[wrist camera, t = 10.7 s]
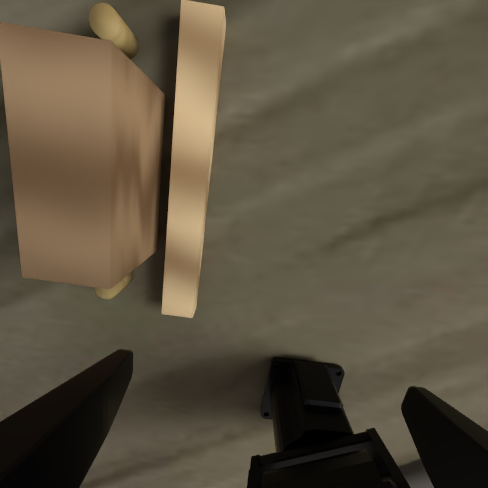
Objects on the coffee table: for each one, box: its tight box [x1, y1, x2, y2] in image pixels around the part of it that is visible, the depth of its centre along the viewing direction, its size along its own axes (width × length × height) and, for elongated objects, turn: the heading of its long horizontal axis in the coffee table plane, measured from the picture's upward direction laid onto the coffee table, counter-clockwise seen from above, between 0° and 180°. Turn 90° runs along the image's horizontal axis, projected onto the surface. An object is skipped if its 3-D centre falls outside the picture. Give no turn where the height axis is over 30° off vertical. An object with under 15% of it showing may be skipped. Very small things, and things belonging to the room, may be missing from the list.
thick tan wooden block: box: [0, 22, 166, 289], centre depth 15 cm, size 11×5×7 cm, turn 172°
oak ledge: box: [89, 0, 226, 318], centre depth 17 cm, size 20×7×2 cm, turn 172°
